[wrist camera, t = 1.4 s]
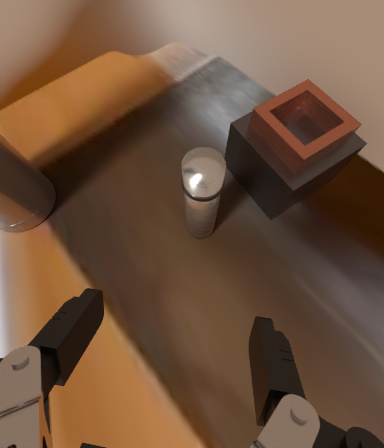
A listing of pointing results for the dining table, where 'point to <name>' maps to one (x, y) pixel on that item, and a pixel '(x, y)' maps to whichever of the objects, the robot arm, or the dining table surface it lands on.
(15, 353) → the robot arm
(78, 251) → the dining table surface
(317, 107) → the block
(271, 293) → the dining table surface
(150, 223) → the dining table surface
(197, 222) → the steel tube
